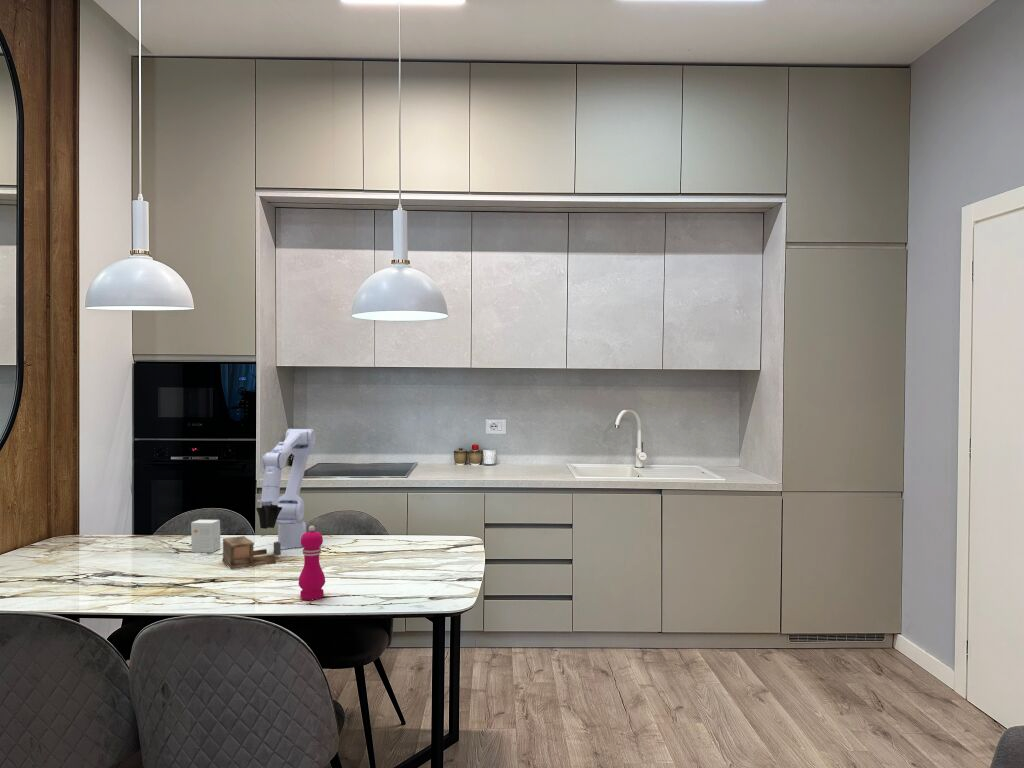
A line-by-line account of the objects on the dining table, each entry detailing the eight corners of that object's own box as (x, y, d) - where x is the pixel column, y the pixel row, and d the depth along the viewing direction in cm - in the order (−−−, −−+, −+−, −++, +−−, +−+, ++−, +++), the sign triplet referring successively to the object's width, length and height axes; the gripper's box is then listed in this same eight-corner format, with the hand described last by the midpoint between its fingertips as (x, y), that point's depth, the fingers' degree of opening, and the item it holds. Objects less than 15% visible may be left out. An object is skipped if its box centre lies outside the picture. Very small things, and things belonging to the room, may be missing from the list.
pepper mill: (301, 593, 213) (301, 523, 213) (327, 593, 213) (327, 522, 213) (296, 601, 206) (295, 528, 205) (323, 600, 206) (322, 528, 206)
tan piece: (276, 552, 256) (276, 538, 256) (282, 556, 251) (282, 541, 251) (229, 559, 247) (229, 544, 247) (234, 563, 242) (234, 547, 242)
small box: (220, 549, 266) (220, 519, 266) (213, 553, 261) (212, 522, 261) (199, 548, 267) (199, 519, 267) (191, 552, 261) (190, 522, 261)
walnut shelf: (265, 555, 257) (264, 533, 257) (275, 563, 247) (275, 540, 247) (222, 561, 249) (222, 538, 249) (231, 569, 239) (231, 545, 239)
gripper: (253, 488, 259) (248, 528, 255) (265, 484, 247) (261, 526, 244) (273, 489, 263) (269, 529, 259) (286, 486, 251) (282, 527, 248)
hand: (267, 528), depth 252 cm, fingers open, 7 cm apart
